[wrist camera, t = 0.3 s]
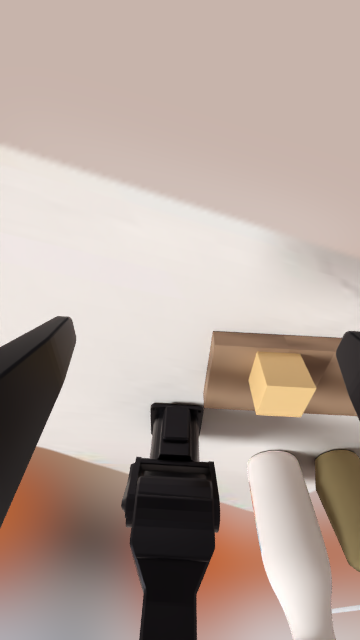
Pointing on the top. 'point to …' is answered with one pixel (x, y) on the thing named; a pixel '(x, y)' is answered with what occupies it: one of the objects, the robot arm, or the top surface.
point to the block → (280, 384)
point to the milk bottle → (292, 544)
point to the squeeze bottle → (341, 498)
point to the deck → (240, 351)
